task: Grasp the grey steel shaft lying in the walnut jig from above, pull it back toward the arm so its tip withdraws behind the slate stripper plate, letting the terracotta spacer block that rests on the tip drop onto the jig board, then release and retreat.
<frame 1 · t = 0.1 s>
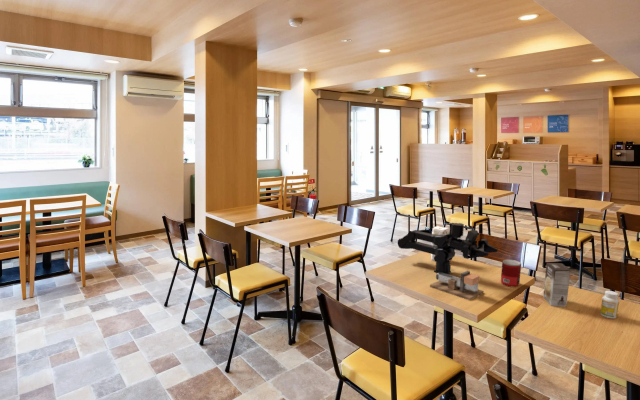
hand: (492, 252, 181), 17 cm above the table, tool horizontal, fingers open, 9 cm apart
spacer: (471, 282, 173), point 6 cm above the table, touching shaft
canned food: (509, 284, 186), on the table
jig: (456, 289, 179), on the table
supplement bottle: (608, 316, 154), on the table
shaft: (456, 281, 179), point 4 cm above the table, slide at 0.0 cm, touching spacer
juice carton: (439, 260, 222), on the table
coffee box: (554, 302, 167), on the table
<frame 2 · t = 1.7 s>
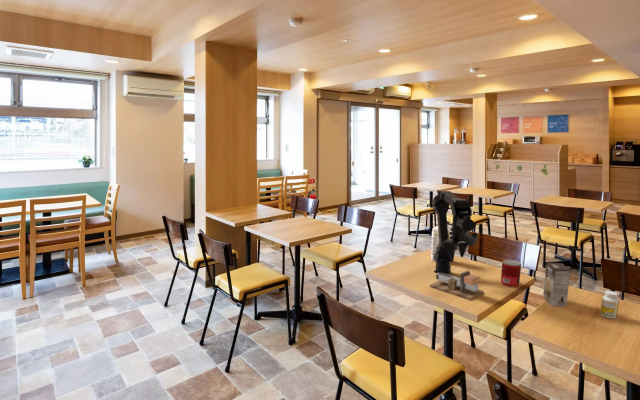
hand: (456, 259, 183), 13 cm above the table, tool pointing down, fingers open, 9 cm apart
nothing on the table moved.
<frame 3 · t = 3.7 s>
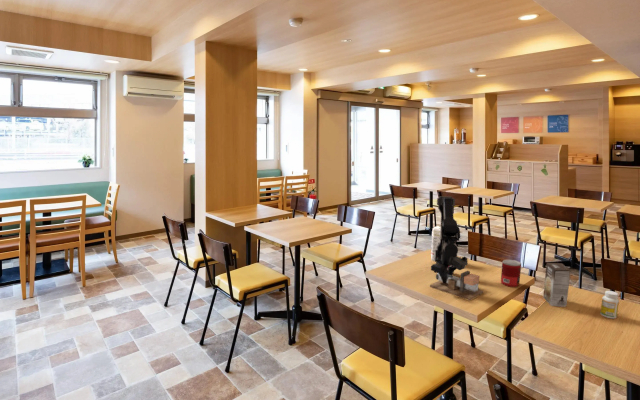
hand: (446, 282, 183), 2 cm above the table, tool pointing down, fingers closed on shaft, 3 cm apart
shaft: (456, 281, 179), point 4 cm above the table, slide at 0.0 cm, touching gripper, spacer
everything else where it was.
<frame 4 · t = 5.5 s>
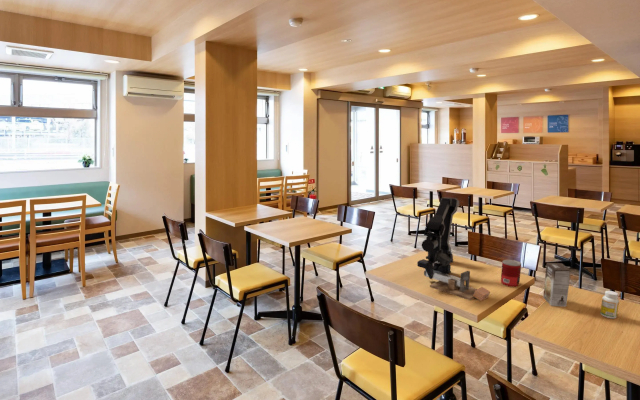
hand: (432, 278, 188), 2 cm above the table, tool pointing down, fingers closed on shaft, 3 cm apart
spacer: (482, 291, 170), point 3 cm above the table, tilted 164°, touching jig
shaft: (443, 277, 184), point 4 cm above the table, slide at 6.7 cm, touching gripper
everything else where it was.
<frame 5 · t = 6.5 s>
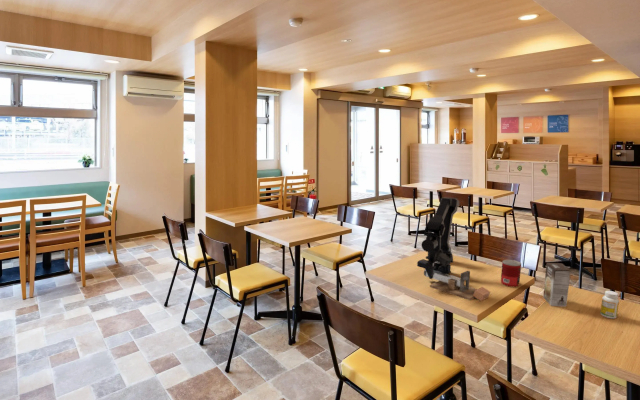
hand: (432, 277, 188), 2 cm above the table, tool pointing down, fingers closed on shaft, 3 cm apart
shaft: (443, 277, 184), point 4 cm above the table, slide at 6.8 cm, touching gripper
everything else where it was.
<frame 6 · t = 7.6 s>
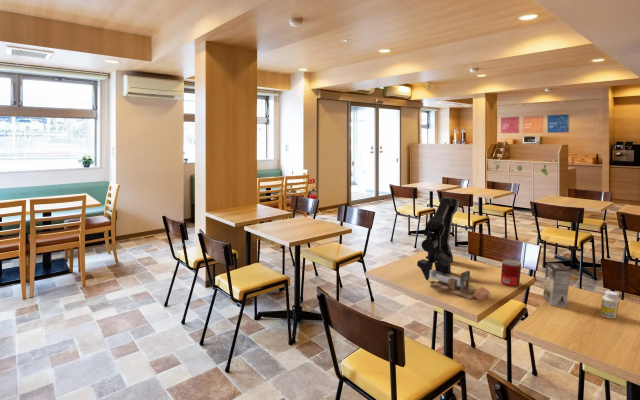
hand: (432, 277, 188), 2 cm above the table, tool pointing down, fingers open, 9 cm apart
shaft: (443, 277, 184), point 4 cm above the table, slide at 6.8 cm
everything else where it was.
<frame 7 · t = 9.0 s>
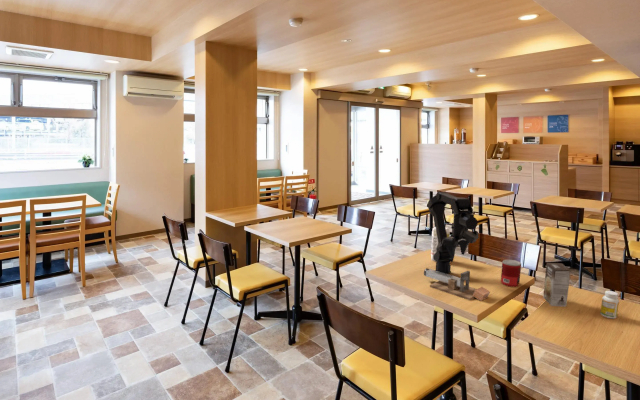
hand: (457, 256, 187), 13 cm above the table, tool pointing down, fingers open, 9 cm apart
nothing on the table moved.
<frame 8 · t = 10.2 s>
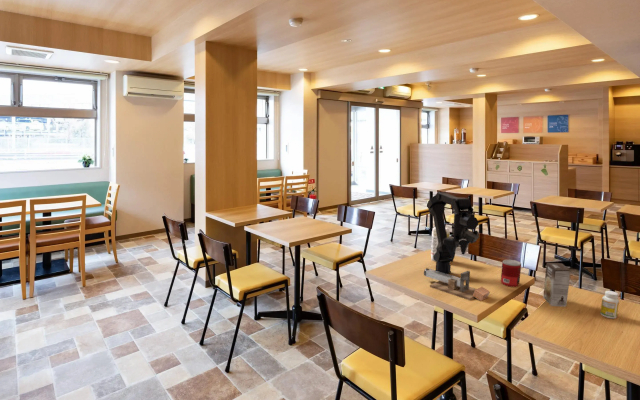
hand: (458, 256, 187), 13 cm above the table, tool pointing down, fingers open, 9 cm apart
spacer: (482, 290, 170), point 3 cm above the table, tilted 162°
everything else where it was.
at the end: shaft slide at 6.8 cm; spacer touching jig, table; spacer point 3.4 cm above the table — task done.
